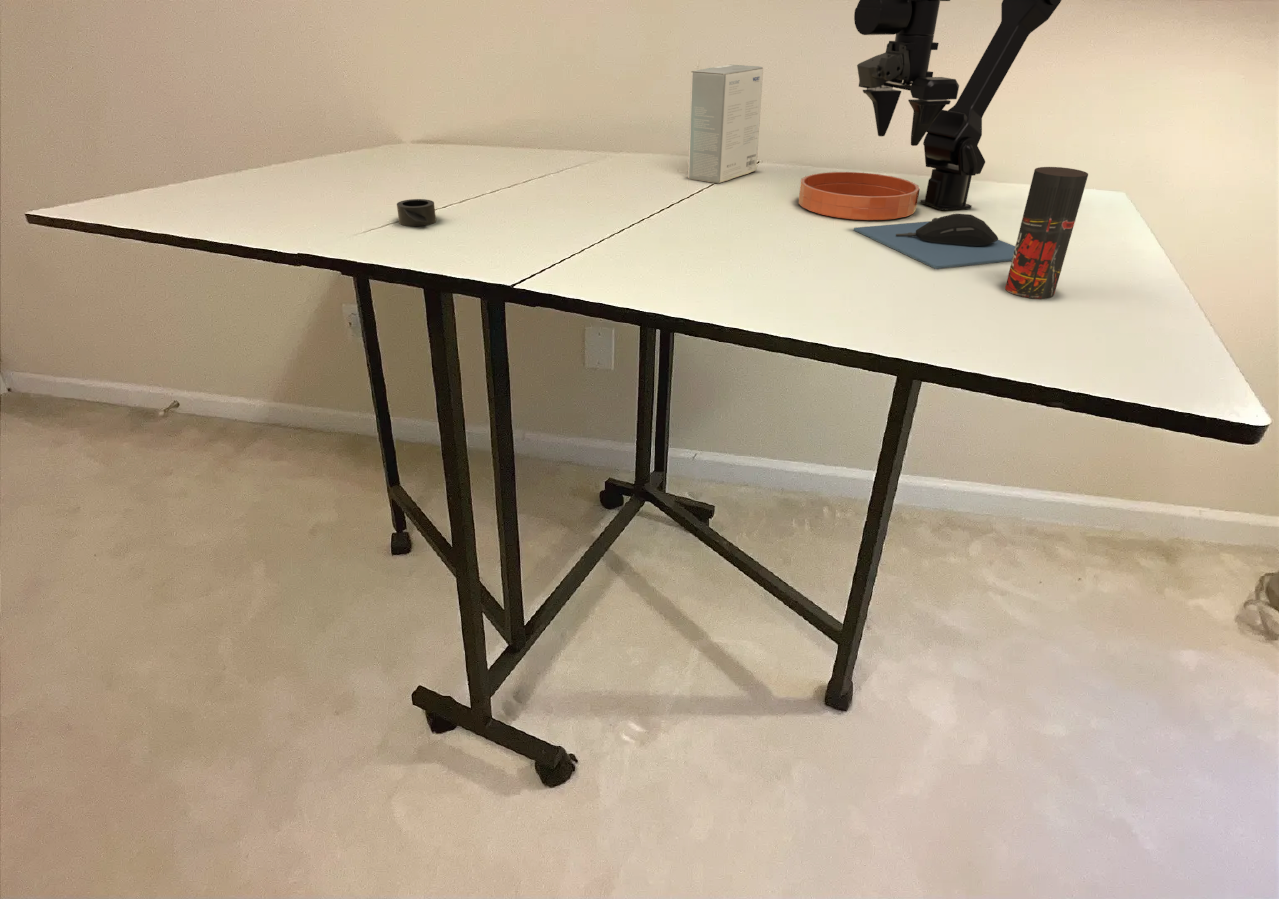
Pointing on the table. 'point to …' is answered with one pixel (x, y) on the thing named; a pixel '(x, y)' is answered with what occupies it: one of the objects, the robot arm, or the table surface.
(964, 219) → the gaming mouse
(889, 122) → the robot arm
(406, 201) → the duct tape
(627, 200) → the table surface
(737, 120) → the hard drive box
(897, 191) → the bowl
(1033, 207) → the deodorant
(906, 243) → the mouse pad
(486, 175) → the table surface
